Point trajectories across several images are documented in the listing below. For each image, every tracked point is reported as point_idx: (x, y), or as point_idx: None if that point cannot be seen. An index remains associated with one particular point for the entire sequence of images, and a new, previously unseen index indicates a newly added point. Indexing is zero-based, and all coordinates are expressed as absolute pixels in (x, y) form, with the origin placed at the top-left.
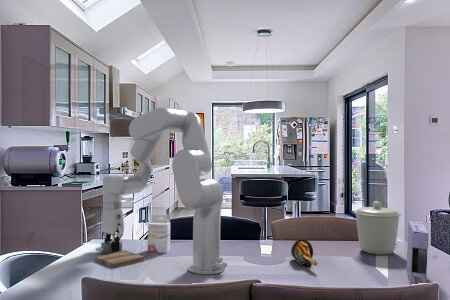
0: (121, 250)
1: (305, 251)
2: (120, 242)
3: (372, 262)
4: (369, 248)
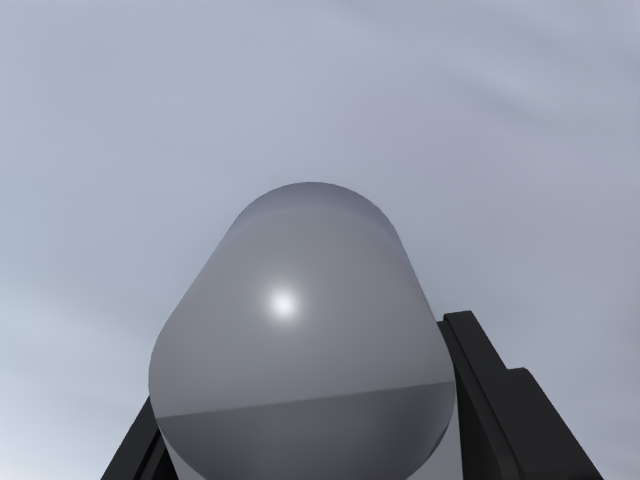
0: (388, 222)
1: None
2: (444, 346)
3: None
4: None
